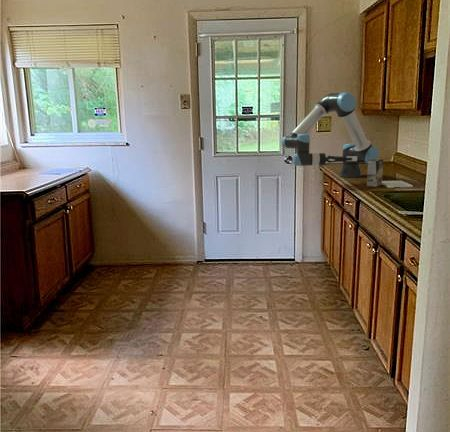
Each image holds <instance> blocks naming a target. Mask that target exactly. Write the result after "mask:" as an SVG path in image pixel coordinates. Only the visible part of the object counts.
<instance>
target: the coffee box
mask: <svg viewBox="0 0 450 432" xmlns="http://www.w3.org/2000/svg"><path fill="white" fill-rule="evenodd" d="M383 169H384V159H383V158H382V159H380V158H379V159H378V158H377V159H372V160H368V163H367V172H366V173H367V176H366V186H367V187H374V188H375V187H379V186H383V185H382V181H383V173H384V172H383Z"/></svg>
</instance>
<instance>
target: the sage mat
mask: <svg viewBox="0 0 450 432" xmlns="http://www.w3.org/2000/svg"><path fill="white" fill-rule="evenodd" d="M381 186H384V187H386V188H389V189H392V188H393V189H394V187H400V188H413V187H414V186H413V184H410V183H408V182H405V181H403V180H382V185H381Z"/></svg>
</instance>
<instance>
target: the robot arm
mask: <svg viewBox="0 0 450 432" xmlns="http://www.w3.org/2000/svg"><path fill="white" fill-rule="evenodd" d="M356 103H357V99H356V98H355V96H354V94H353V93H351V92H344V91H343V92H331V93H329V94H326V95H324V96H323V97H322V98H321V99H320V100H319V101H317V102H316V103H315V105H314V108H313V109H312V110H311V111H310V112H309V113H308V114H307V115H306V116H305V117H304V119H303V120H302V121H301V122H300V123H299V124H298V125H297V126H296V127H295V128H294V130H292V132H291V133H289V134H288V135H286V136H283V137H282V138H281V146H282V147H283V148H285V149H295V150H296V152H295V153H294V154H293V155H292V156H293V157H292V158H293V159H292V162H293V165H294V166H295V167H296V166H298V167H300V166H301V167H304V166H305V167H306V166H307V167H308V166H313V167H315V166H325V165H326V162H327V163H330V164H331V163H339V162H340V163H341V162H342V165H341V168H340V170H339V177H341V178H360V177H362V169H361V166H360V163H362V164H363V163H364V164H368V160H372V159H378V156H379V153H380V152H379V148H378V147H377V146H375V145H373V144H372V142H371V140H368V139H367V137H366V134H365V132H364V130H363V128H362V126H361V124H360V122H359V120H358V117H357V115H356V113H355V110H356V106H357V104H356ZM331 112H335V113H336V116H337V117H338V118H340V119H342V121H343V123H344V126H345V128H346V130H347V132H348V134H349V136H350V138H351V140H352V143H345V144H343V146H342V156H338V155H337V156H335V155H332V156H331V155H326V153H325V152H318V153H317V152H315V153H313V152H311V153H310V143H311V142H310V141H311V140H310V134H308V133H309V131H310V130H311V129H312V128H313V127H314V126H315V125H316V124H317V123H318V122H319V121H320V120H321V119H322V118H323V117H325V116H327V115H328V114H329V113H331Z"/></svg>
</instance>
